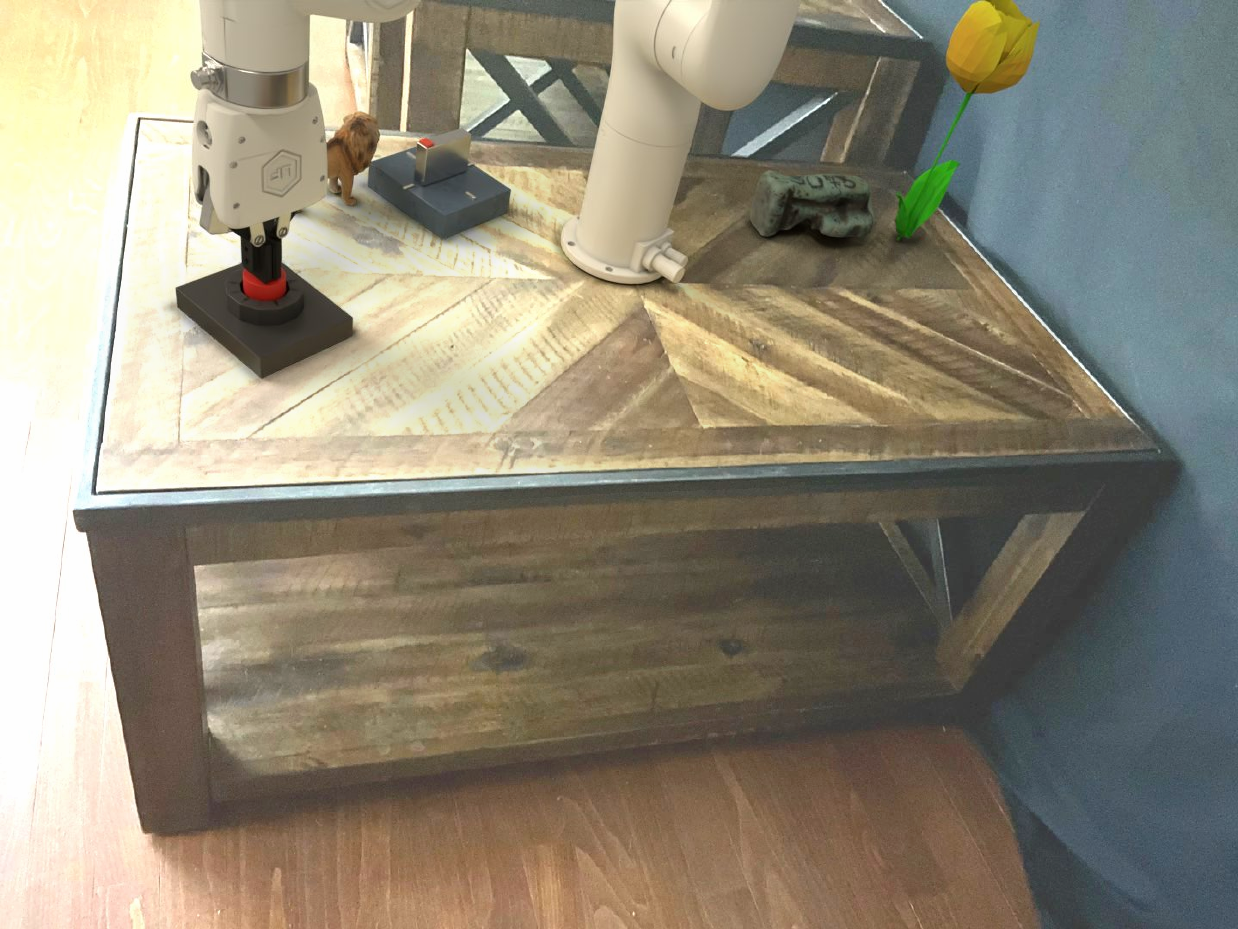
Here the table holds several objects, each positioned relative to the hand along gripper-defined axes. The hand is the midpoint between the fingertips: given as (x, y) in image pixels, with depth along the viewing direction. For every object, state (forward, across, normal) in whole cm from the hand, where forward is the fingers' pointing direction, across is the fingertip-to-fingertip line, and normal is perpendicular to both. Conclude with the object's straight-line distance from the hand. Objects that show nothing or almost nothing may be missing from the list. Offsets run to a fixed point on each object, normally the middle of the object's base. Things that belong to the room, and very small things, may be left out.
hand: (262, 272), depth 90 cm
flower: (+5, +73, -30) cm, 79 cm away
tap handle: (+2, +28, +7) cm, 29 cm away
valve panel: (+5, +28, +7) cm, 30 cm away
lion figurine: (+6, +17, +14) cm, 23 cm away
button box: (+6, 0, 0) cm, 6 cm away
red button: (+2, 0, 0) cm, 2 cm away
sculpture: (+5, +63, -21) cm, 67 cm away
